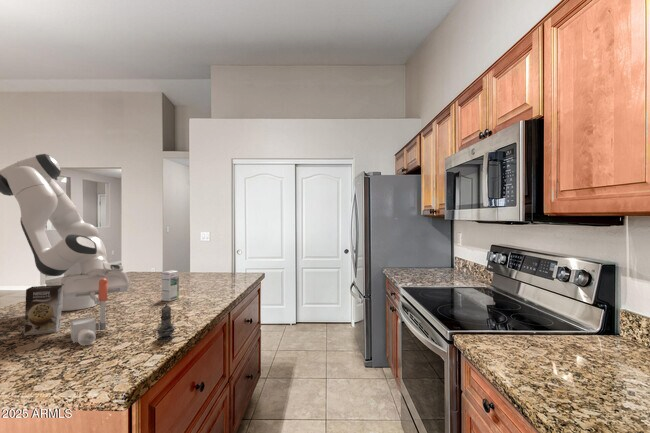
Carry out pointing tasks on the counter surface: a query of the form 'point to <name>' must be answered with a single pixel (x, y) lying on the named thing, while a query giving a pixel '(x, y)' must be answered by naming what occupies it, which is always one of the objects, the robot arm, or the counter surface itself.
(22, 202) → the robot arm
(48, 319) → the cookie box
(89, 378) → the counter surface
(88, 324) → the valve
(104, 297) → the lever
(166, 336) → the grey chess pawn
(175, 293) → the syrup box
